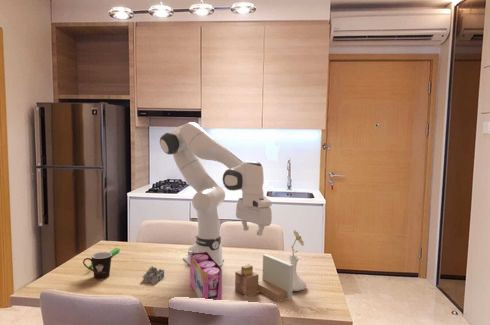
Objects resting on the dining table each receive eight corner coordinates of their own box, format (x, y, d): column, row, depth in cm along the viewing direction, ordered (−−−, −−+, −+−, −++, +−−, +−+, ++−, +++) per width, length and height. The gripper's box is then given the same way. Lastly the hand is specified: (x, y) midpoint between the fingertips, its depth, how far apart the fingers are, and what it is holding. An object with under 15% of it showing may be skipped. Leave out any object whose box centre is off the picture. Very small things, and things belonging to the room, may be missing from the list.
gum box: (223, 304, 145) (224, 271, 144) (203, 307, 142) (204, 273, 141) (207, 281, 167) (207, 251, 166) (189, 283, 164) (190, 253, 163)
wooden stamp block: (234, 290, 158) (235, 265, 158) (245, 286, 162) (246, 261, 161) (246, 296, 152) (247, 270, 151) (258, 292, 156) (258, 267, 155)
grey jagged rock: (152, 273, 174) (152, 265, 174) (166, 275, 173) (167, 267, 172) (140, 282, 164) (140, 273, 164) (155, 284, 162) (155, 275, 162)
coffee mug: (115, 274, 171) (115, 253, 171) (103, 281, 163) (102, 259, 162) (95, 270, 175) (95, 250, 174) (81, 277, 167) (81, 256, 166)
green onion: (113, 253, 203) (84, 271, 173) (113, 247, 203) (84, 264, 173) (122, 254, 202) (94, 272, 172) (122, 248, 202) (94, 265, 172)
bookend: (253, 288, 160) (254, 257, 159) (265, 284, 164) (266, 253, 163) (280, 302, 148) (281, 268, 147) (292, 297, 152) (293, 264, 151)
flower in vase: (305, 295, 155) (308, 236, 153) (278, 292, 157) (280, 234, 155) (306, 282, 168) (308, 228, 166) (281, 280, 170) (283, 226, 168)
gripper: (232, 197, 161) (232, 228, 162) (262, 204, 145) (261, 239, 146) (244, 195, 165) (244, 226, 166) (274, 202, 148) (274, 236, 149)
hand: (252, 232), depth 156 cm, fingers open, 8 cm apart
